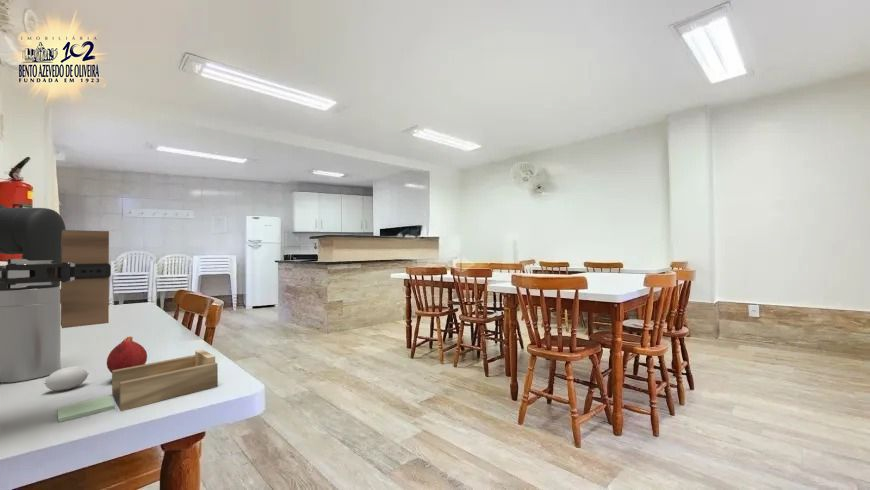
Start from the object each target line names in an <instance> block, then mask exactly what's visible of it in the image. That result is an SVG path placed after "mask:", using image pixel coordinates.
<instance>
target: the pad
mask: <svg viewBox="0 0 870 490" xmlns="http://www.w3.org/2000/svg"><path fill="white" fill-rule="evenodd" d="M115 406H116V405H115V403H114V401H113V398H112V397H111V395H106V396H101V397H97V398H92V399H91V398H90V399H88V400H83V401H79V402H75V403H70V404H65V405H60V406H57V407H56V411H57V412H56V413H57V421H58V423H60V422H65V421H69V420H73V419H77V418H81V417H85V416H90V415H94V414H98V413H102V412H106V411H109V410H113V409H116V407H115Z"/></svg>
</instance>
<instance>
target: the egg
mask: <svg viewBox="0 0 870 490" xmlns="http://www.w3.org/2000/svg"><path fill="white" fill-rule="evenodd" d="M88 375H90V373H89V372H88V371H87V370H86V369H85V368H83V367H81V366H67V367H63V368H60V370H57V371H55V372H53V373H52V374H50V375H47V376H48V377H46V379H45V382H44V383H43V385H45V387H46V388H47V389H49V390H51V391H57V392H61V391H67V390H72V389H74V388H77V387H78V386H80V385H82V384H83V383H84V382H85V381H86V380H87V379H88Z"/></svg>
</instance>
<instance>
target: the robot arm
mask: <svg viewBox="0 0 870 490" xmlns="http://www.w3.org/2000/svg"><path fill="white" fill-rule="evenodd" d="M62 230H67V229H66V224H65V222H64V219H63V217H62V216H61V215H60V213H59V212H57V211H55V210H54V209H51V208H47V207H8V206H5V205H3V204H1V203H0V254H2V255H21V258H12V259H11V258H10V259H9V258H7V264H4V265H0V382H8V383H14V382H15V383H16V382H22V381H27V380H28V381H29V380H32V379H38V378H42V377H46V376H49V375H51V374H52V373H53V372H55V371H57V370H60V369H61V342H62V341H61V281H62V282H67V281H72V280H76V277H77V279H95V278H108V277H109V278H110V277H111V275H112V271H111V270H112V266H111V264H110V263H109V264H108V263H101V264H77V267H76V263H73V262H68V264H67V263H62V264H61V232H62Z"/></svg>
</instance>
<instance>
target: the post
mask: <svg viewBox="0 0 870 490" xmlns="http://www.w3.org/2000/svg"><path fill="white" fill-rule="evenodd" d="M68 262H73V263H76V267H77V264H101V263H108V264H110V263H109V262H110V231H109V230H76V229H72V230H71V229H70V230H69V229H66V230H62V232H61V264H62V263H67V264H68ZM109 278H110V277H108V278H95V279H77V277H76V280H72V281H67V282H62V281H60V328H61V329H66V328H67V329H69V328H77V327H83V326H84V327H85V326H93V325H94V326H95V325H102V324H109V320H110V319H109V315H110V313H109V312H110V311H109V308H110V305H109V303H110V302H109V301H110V300H109V299H110V297H109V295H110V289H109V288H110V285H109V284H110V281H109V280H110V279H109Z"/></svg>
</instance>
